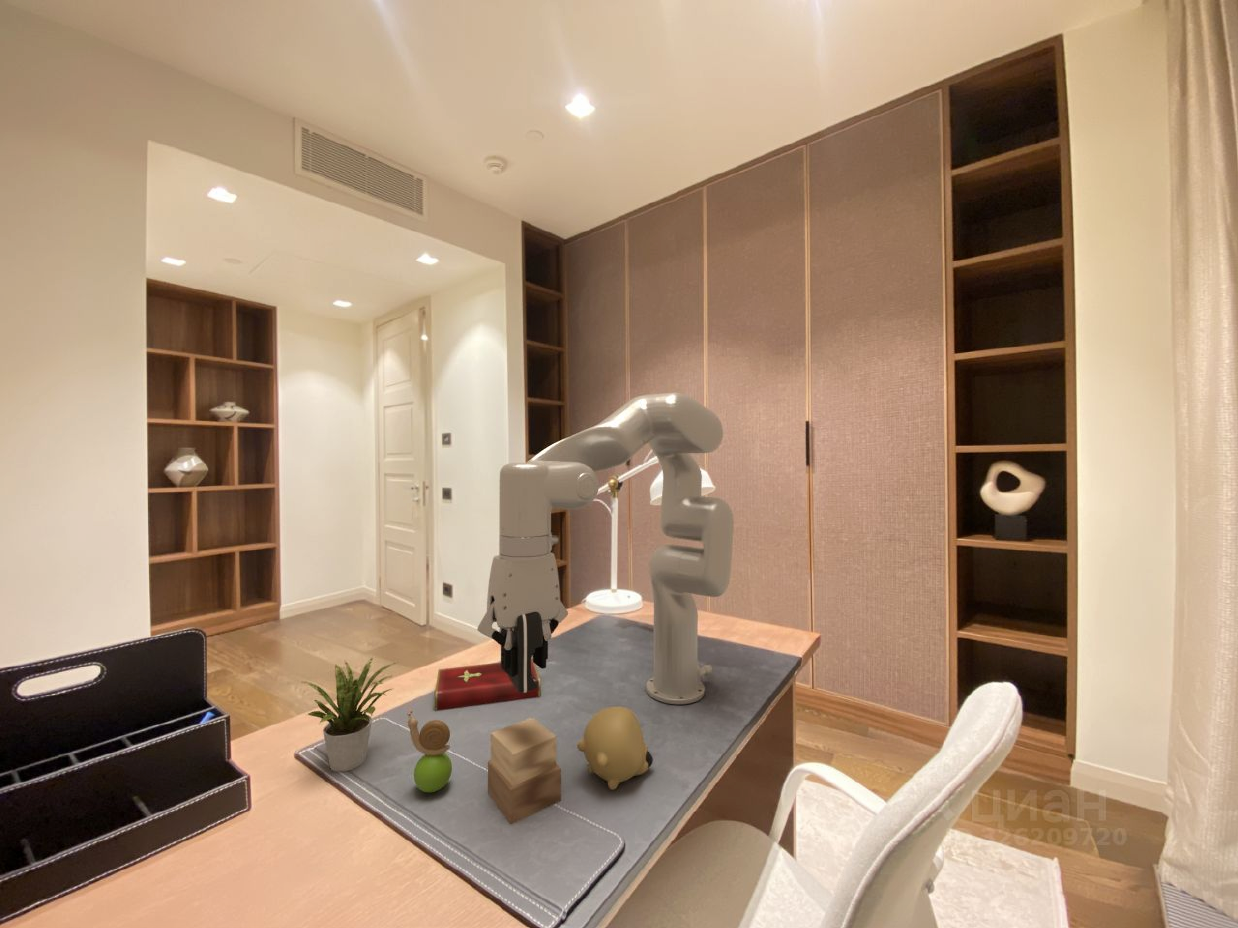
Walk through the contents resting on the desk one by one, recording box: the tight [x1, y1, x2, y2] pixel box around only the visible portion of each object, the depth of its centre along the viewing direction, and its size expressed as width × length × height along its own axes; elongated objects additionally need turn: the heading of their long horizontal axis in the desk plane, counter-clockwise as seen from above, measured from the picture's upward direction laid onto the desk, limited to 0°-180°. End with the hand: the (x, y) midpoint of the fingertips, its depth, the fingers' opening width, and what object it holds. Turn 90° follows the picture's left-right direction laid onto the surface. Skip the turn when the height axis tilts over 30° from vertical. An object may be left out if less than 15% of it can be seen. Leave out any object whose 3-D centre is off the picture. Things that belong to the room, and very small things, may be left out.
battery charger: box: [508, 612, 543, 693], centre depth 73 cm, size 7×4×11 cm, turn 28°
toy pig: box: [576, 706, 654, 790], centre depth 78 cm, size 10×12×11 cm
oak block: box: [490, 717, 557, 787], centre depth 73 cm, size 7×7×4 cm
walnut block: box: [487, 759, 562, 825], centre depth 73 cm, size 8×8×5 cm
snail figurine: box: [407, 709, 453, 793], centre depth 75 cm, size 5×6×12 cm
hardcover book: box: [434, 658, 542, 712], centre depth 107 cm, size 12×21×4 cm, turn 107°
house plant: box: [301, 657, 397, 772], centre depth 81 cm, size 14×14×16 cm
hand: (524, 667), depth 73 cm, fingers closed on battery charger, 4 cm apart
